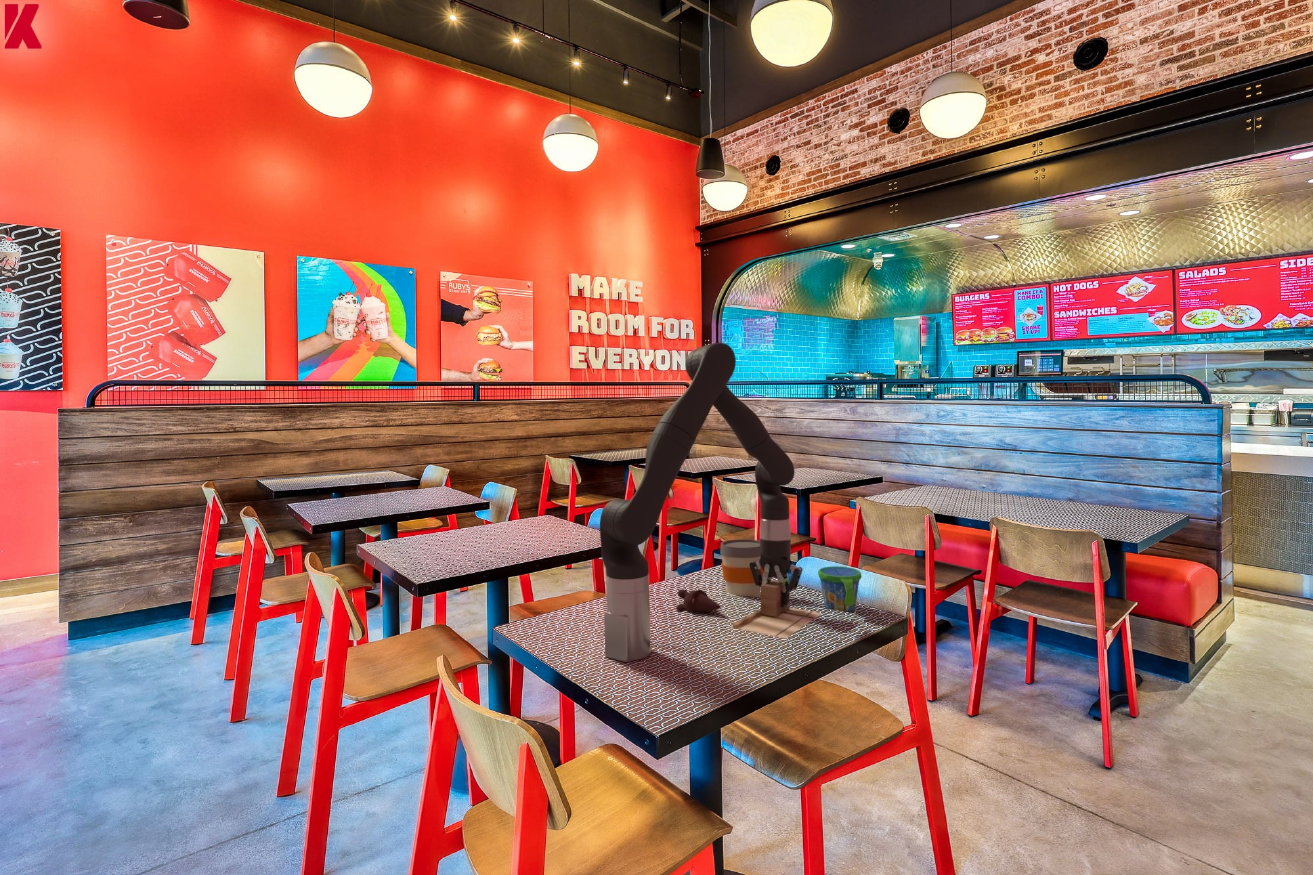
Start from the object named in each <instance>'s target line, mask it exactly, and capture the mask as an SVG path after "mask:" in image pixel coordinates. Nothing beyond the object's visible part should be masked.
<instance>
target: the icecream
mask: <svg viewBox="0 0 1313 875" xmlns="http://www.w3.org/2000/svg"><path fill="white" fill-rule="evenodd" d="M677 595H678V597H679V598H681V599H683V603H679V604H677V605H676V607H675V609H676V610H677V611H678V612H680V613H683V612H685V611H686V612H688V613H691V614H694V613H696V614H697V613H698V614H705V613H708V612H711V611H715V610H719V609H721V608H722V607H721V604H719V603H717V602H715V601H714V600H713V599H712V598H710V597H709V596H708V594H707V592H706V591H704V590H702V589H696V590H691V591H689V592H688V590H687V589H683V588H682V589H678V591H677Z"/></svg>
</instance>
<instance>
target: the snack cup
mask: <svg viewBox="0 0 1313 875" xmlns="http://www.w3.org/2000/svg"><path fill="white" fill-rule="evenodd" d="M817 574H818V578H819V579H820V585H821V593H822V598H823V605H824V608H825V609H827V610H831V611H837V612H838V611H839V612H843V613H849V614H850V613H852V612H855V610H856V606H857V599H858V593H859V584H860V580H861V579H862V573H861V571H860V570H858V569H857V568H853V567H848V566H837V565H836V566H827V567H826V566H825V567H822V568H820V569H818V571H817Z"/></svg>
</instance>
